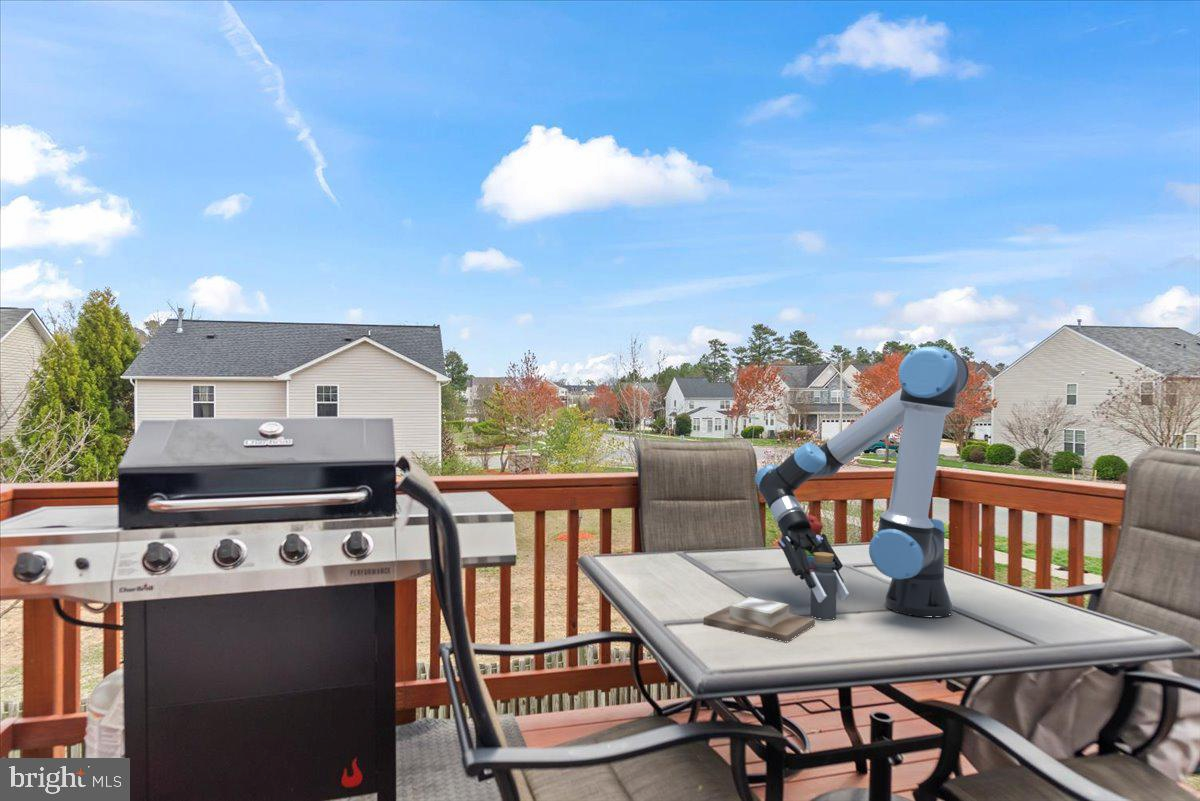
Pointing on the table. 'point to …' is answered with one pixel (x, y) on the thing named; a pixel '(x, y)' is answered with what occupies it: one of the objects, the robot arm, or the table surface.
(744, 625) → the plinth
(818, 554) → the bottle
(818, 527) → the stacking bear
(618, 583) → the table surface
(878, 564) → the robot arm
